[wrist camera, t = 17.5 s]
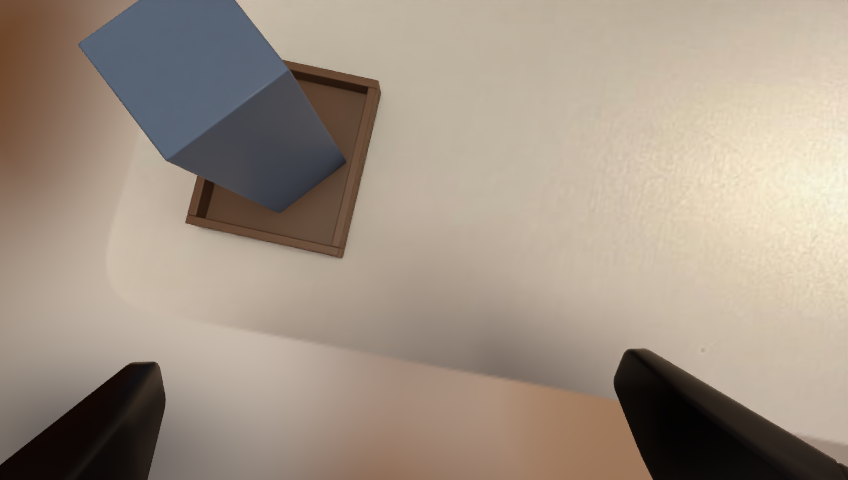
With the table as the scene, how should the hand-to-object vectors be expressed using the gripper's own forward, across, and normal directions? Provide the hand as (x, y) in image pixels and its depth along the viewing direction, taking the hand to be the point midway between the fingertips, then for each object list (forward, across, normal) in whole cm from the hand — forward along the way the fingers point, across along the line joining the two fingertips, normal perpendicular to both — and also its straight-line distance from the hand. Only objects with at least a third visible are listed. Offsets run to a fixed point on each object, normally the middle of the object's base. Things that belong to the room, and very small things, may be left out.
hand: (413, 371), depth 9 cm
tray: (+16, +3, +2) cm, 16 cm away
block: (+16, +4, +1) cm, 16 cm away
